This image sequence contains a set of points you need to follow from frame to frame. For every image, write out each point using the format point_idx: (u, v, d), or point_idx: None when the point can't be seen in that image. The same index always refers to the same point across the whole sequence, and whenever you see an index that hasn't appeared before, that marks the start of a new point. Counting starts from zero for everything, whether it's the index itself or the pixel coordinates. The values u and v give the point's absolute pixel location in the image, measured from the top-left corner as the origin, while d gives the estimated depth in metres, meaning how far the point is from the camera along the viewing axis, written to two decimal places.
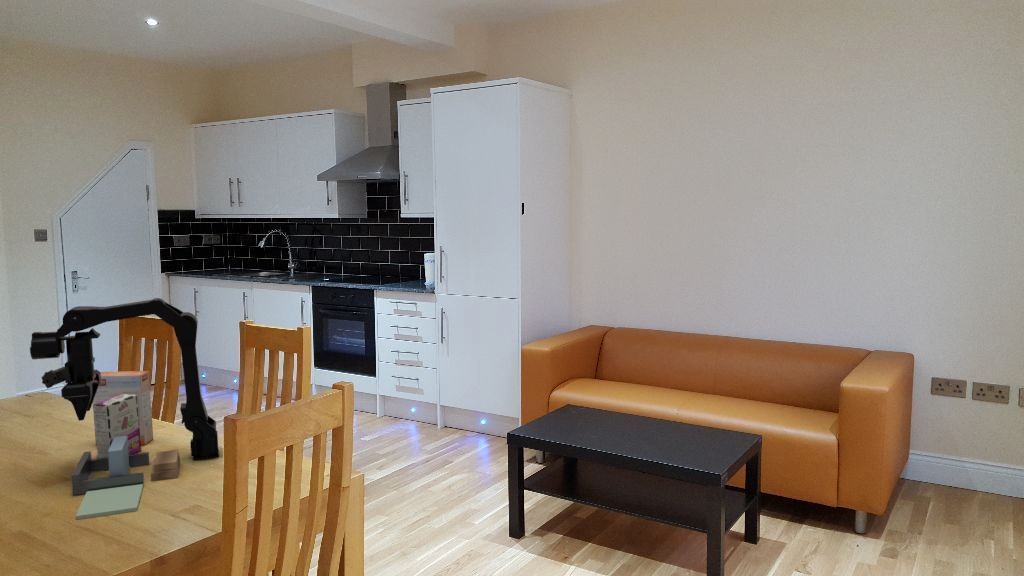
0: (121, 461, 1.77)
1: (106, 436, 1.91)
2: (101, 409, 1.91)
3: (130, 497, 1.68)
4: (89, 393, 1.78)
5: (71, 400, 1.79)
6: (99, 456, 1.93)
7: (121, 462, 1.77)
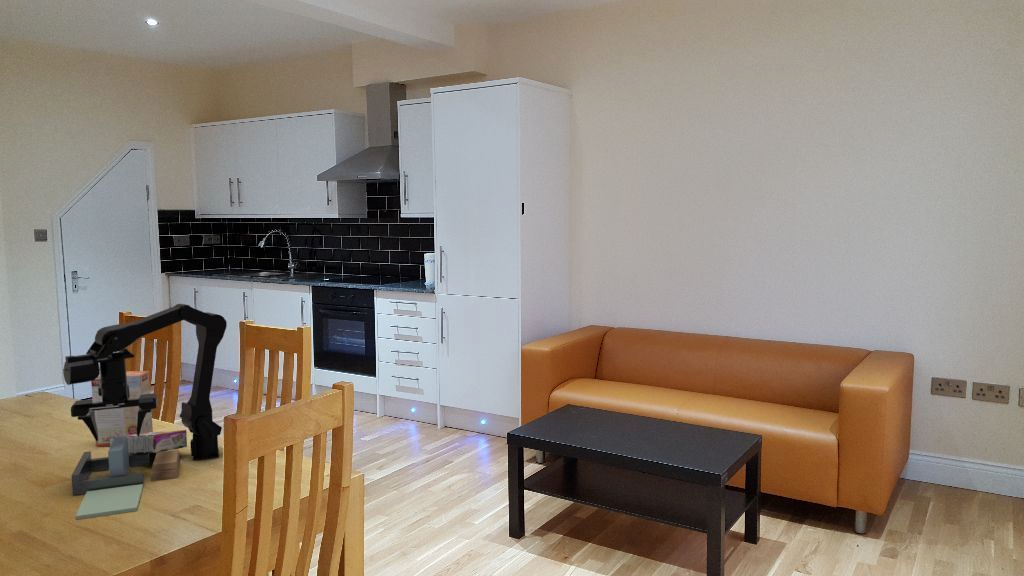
0: (121, 461, 1.77)
1: (130, 449, 1.91)
2: (151, 444, 1.89)
3: (130, 497, 1.68)
4: (72, 415, 1.75)
5: None
6: None
7: (121, 462, 1.77)
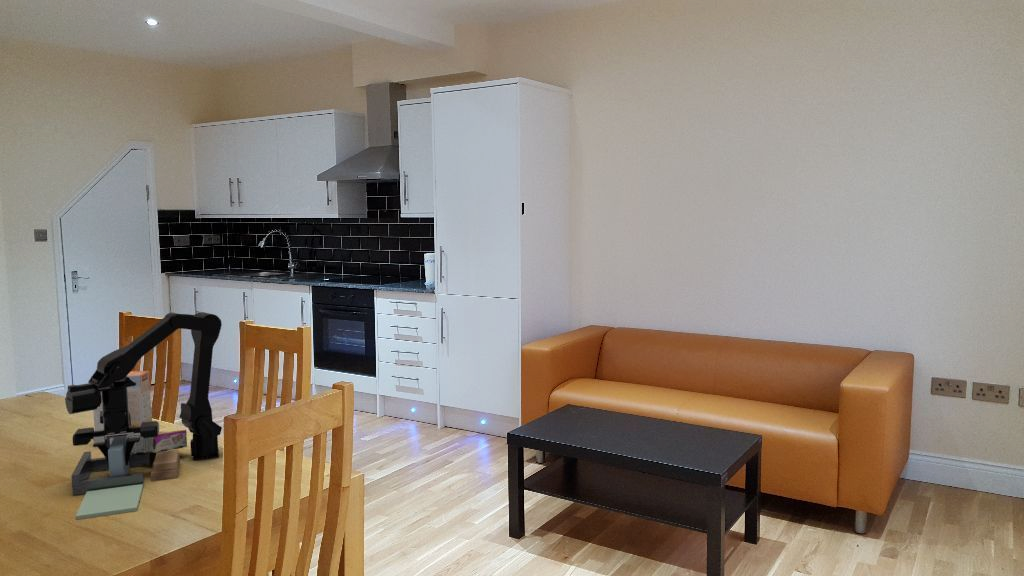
0: (121, 461, 1.77)
1: None
2: (151, 444, 1.89)
3: (130, 497, 1.68)
4: (74, 444, 1.76)
5: None
6: None
7: (121, 462, 1.77)
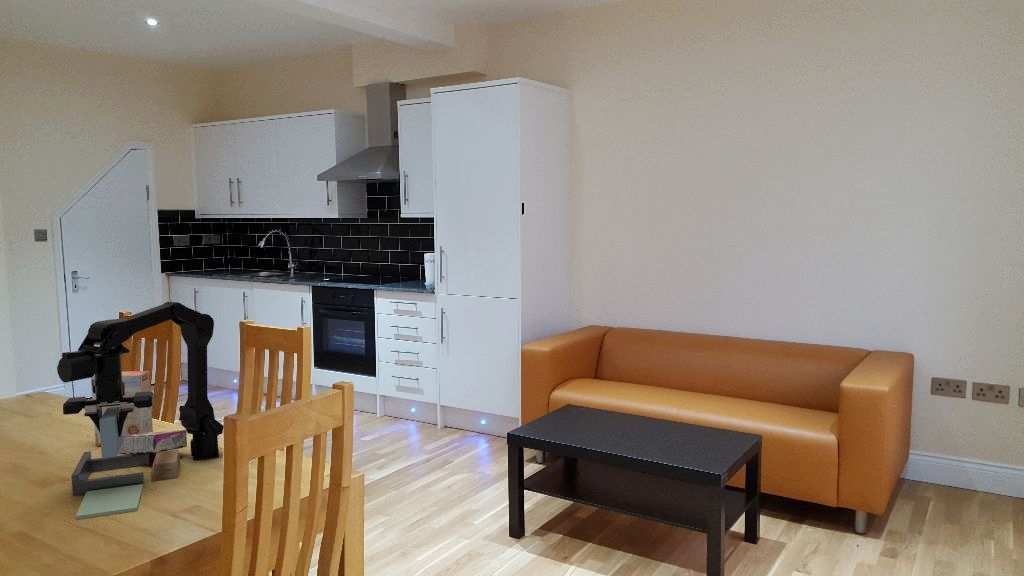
0: (113, 431, 1.69)
1: (130, 449, 1.91)
2: (151, 444, 1.89)
3: (130, 497, 1.68)
4: (64, 413, 1.68)
5: None
6: None
7: (113, 432, 1.69)
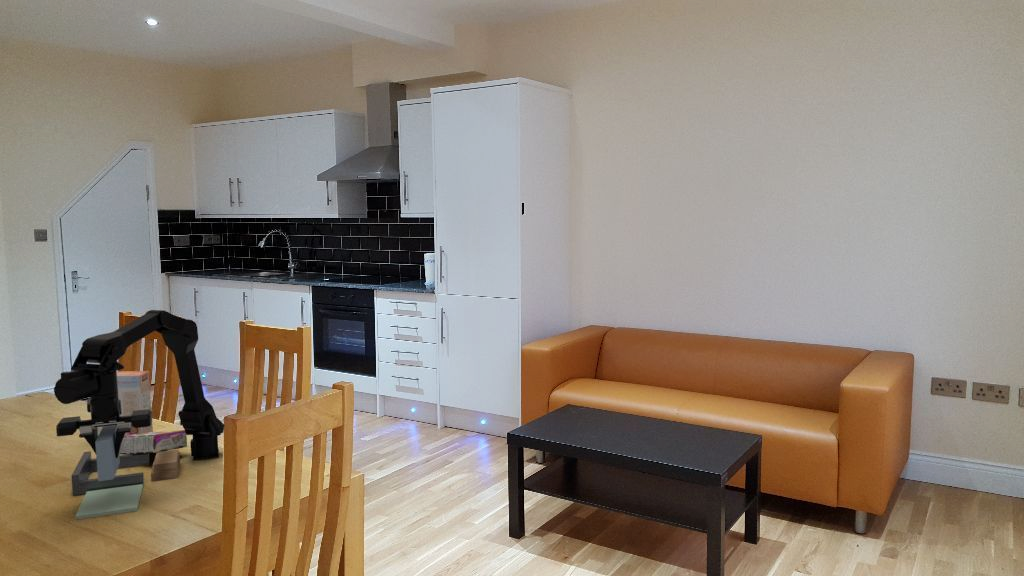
0: (110, 453, 1.61)
1: (130, 449, 1.91)
2: (151, 444, 1.89)
3: (130, 497, 1.68)
4: (58, 434, 1.59)
5: None
6: None
7: (110, 454, 1.61)
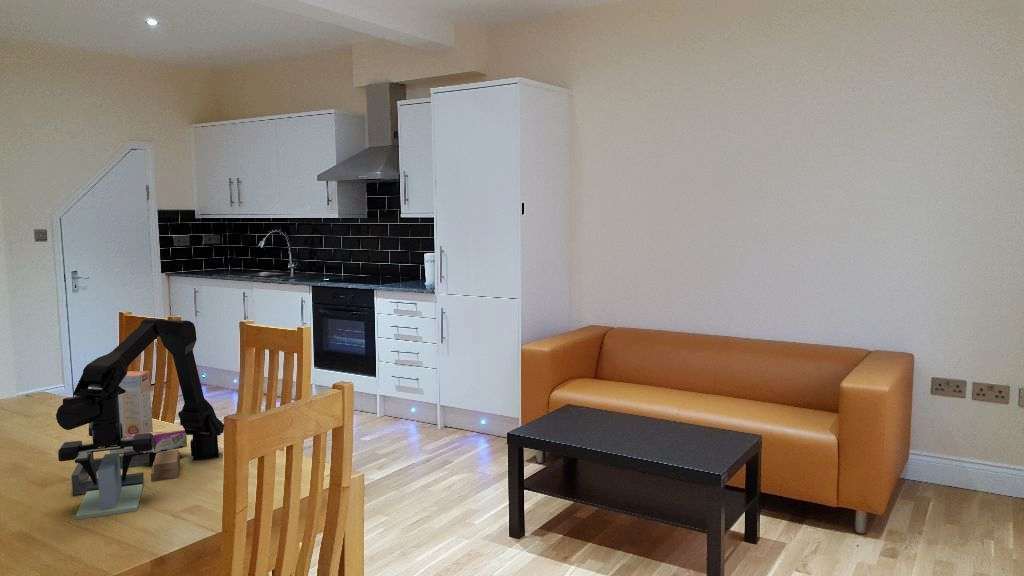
0: (112, 481, 1.61)
1: None
2: None
3: (130, 497, 1.68)
4: (60, 459, 1.60)
5: None
6: None
7: (112, 483, 1.61)
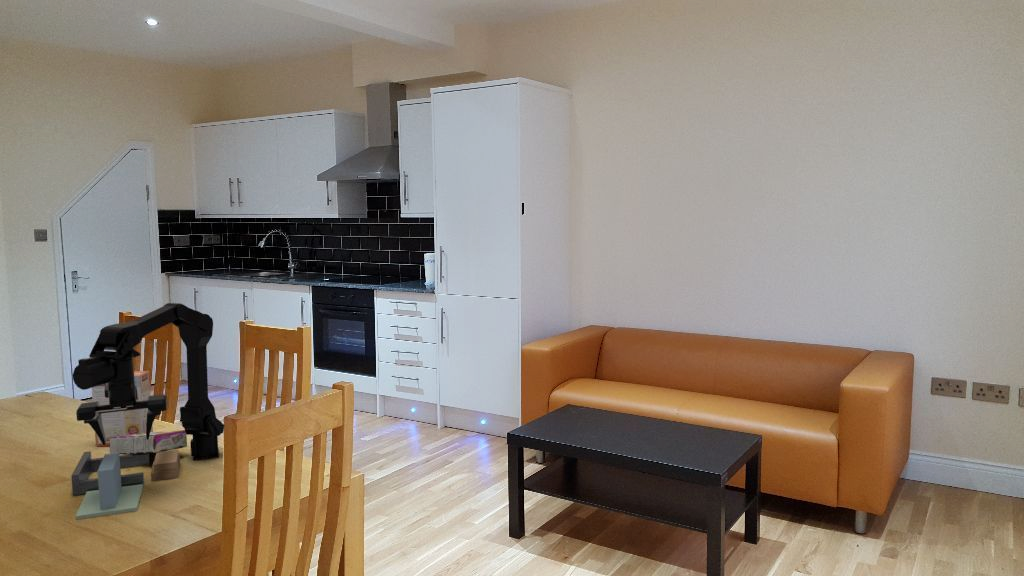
0: (112, 481, 1.61)
1: (130, 449, 1.91)
2: (151, 444, 1.89)
3: (130, 497, 1.68)
4: (78, 419, 1.66)
5: None
6: (114, 439, 1.94)
7: (112, 483, 1.61)
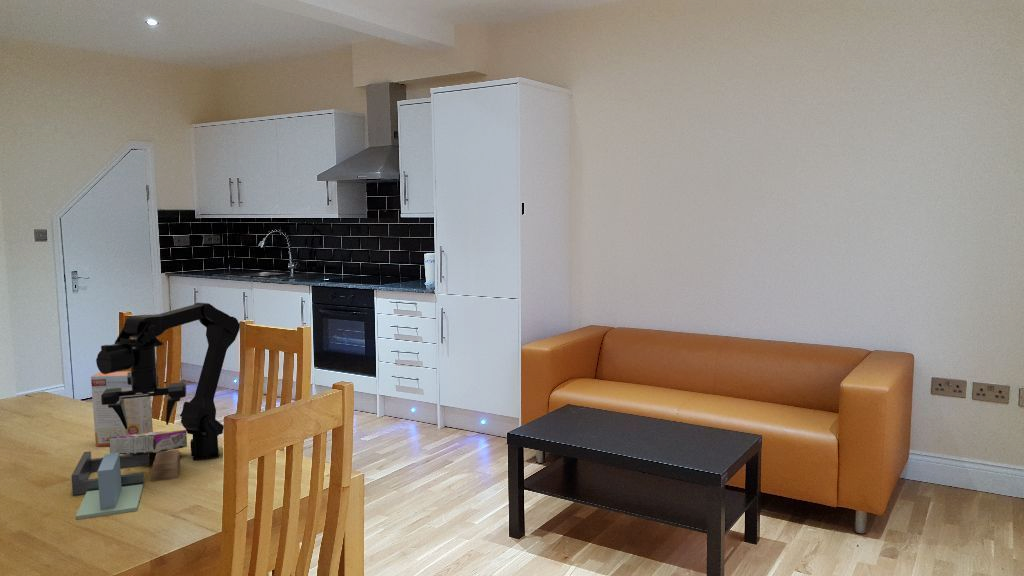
0: (112, 481, 1.61)
1: (130, 449, 1.91)
2: (151, 444, 1.89)
3: (130, 497, 1.68)
4: (103, 403, 1.75)
5: None
6: (114, 439, 1.94)
7: (112, 483, 1.61)
